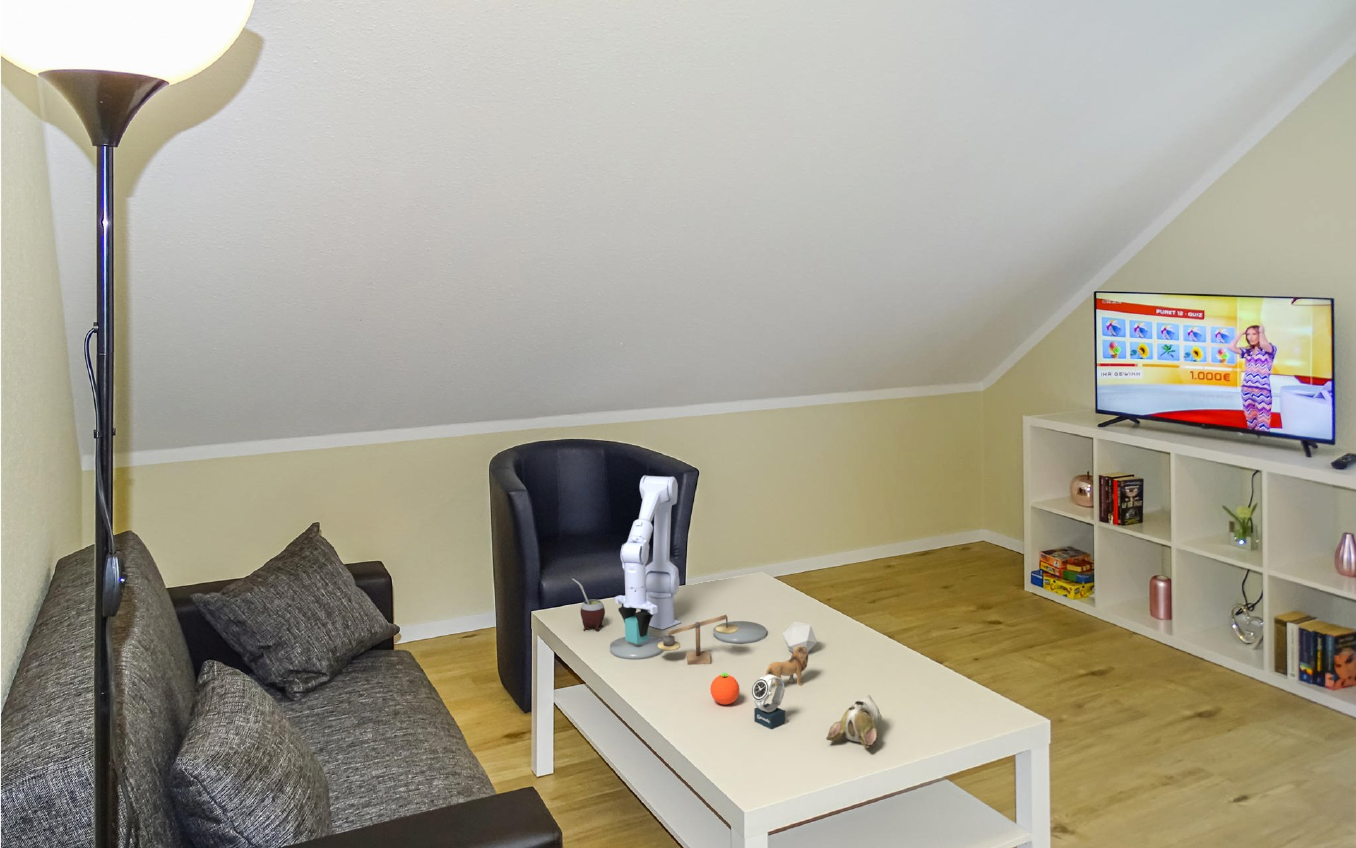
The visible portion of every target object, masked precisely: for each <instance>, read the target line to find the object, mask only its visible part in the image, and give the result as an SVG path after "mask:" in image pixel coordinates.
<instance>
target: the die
mask: <svg viewBox="0 0 1356 848" xmlns="http://www.w3.org/2000/svg"><path fill="white" fill-rule="evenodd" d="M782 637H783V640H784V642H785V644H786V648H787V649H788V651H789V652H791V653H793V649H794V648H795V647H797V646H799V645H800V646H804V647H806V649H807V651H808V652H809V651H810V650H812V648H813V647H814V646H815V645H816V644H817V643H818V641H817V637H816V635H815V632H814V630H813V628H812V625H811V624H809V623H804V622H800V621H797V620H795V621H794V622H793V623H791V625H790V626H789V627H788V628H787V629H785V630H784V631H783V633H782Z"/></svg>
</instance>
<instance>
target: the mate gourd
mask: <svg viewBox="0 0 1356 848" xmlns="http://www.w3.org/2000/svg"><path fill="white" fill-rule="evenodd" d="M571 579H572V581H574V582H575V583H577V584H578V586H579V588H580V589H581V592H582V594H583V596H584V599H585V600H584V601H583V602H582V604H581V606H580V617H581V620H582V625H583V629H582V630H583V632H586V631H585V630H588V631H592V630H593V631H595V632H596V633H597V632H600V628H603V627H604V625H603V620H604V619H605V614H606V609H605V606H604V603H603V602H602V601H601V600H599V599H592V598H591V599H588V597H587V595H586V593H585V590H584V586H583V585H582V584H581V583H580V582H579V581H578V580H576V579H575V578H571Z"/></svg>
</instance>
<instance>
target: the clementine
mask: <svg viewBox="0 0 1356 848" xmlns="http://www.w3.org/2000/svg"><path fill="white" fill-rule="evenodd" d="M709 690H710V695H711V697H712V699H714V701H715V702H717V704H719V705H720V704H721V705H730V704H732V703H734V702H735V701H736V700H737V698H738V697H739V695H740V684H739V682H738V681H737V679H736V678H735V677H733V676H732V675H730V674H729V673H728V672H723V673H721V674H720V675H718V676H716V677H715V678H714V679H712V682H711V684H710V688H709Z"/></svg>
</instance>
